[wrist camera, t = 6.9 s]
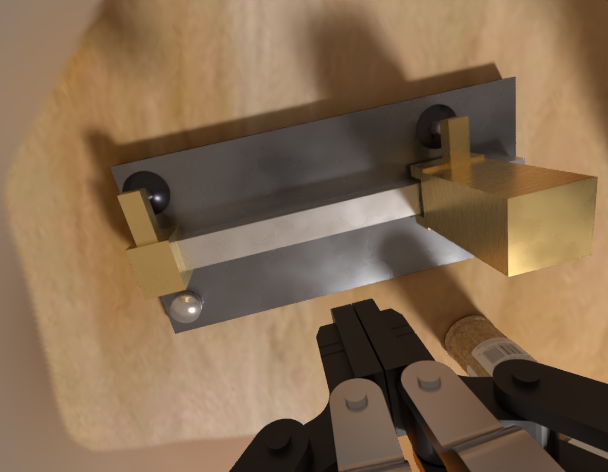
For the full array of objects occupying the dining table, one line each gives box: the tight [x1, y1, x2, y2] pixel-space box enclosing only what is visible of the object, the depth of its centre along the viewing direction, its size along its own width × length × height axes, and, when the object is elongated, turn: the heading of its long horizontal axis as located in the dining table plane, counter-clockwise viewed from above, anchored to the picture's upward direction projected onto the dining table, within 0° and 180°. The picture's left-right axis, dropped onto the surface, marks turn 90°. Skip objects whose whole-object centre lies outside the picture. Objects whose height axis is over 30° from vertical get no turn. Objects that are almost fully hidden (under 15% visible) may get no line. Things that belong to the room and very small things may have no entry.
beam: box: [117, 156, 525, 300], centre depth 22 cm, size 25×6×3 cm, turn 102°
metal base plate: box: [110, 77, 516, 334], centre depth 24 cm, size 26×12×2 cm, turn 102°
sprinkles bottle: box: [445, 315, 608, 459], centre depth 24 cm, size 5×5×14 cm
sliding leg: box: [410, 116, 598, 277], centre depth 19 cm, size 4×7×10 cm, turn 12°
